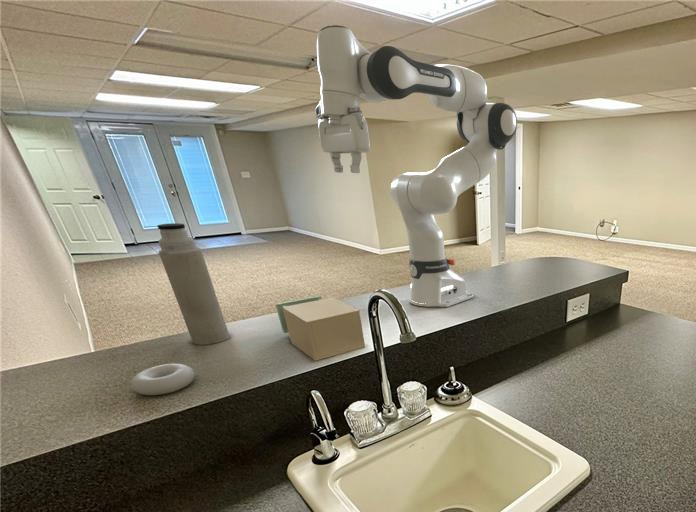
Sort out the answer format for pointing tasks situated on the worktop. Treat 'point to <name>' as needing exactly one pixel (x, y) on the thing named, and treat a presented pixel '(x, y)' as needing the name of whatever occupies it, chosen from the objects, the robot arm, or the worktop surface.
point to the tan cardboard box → (324, 327)
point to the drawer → (289, 303)
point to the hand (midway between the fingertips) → (346, 172)
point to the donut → (162, 379)
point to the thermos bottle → (191, 285)
